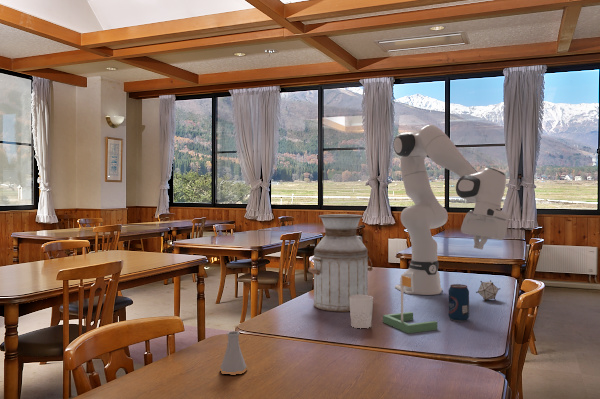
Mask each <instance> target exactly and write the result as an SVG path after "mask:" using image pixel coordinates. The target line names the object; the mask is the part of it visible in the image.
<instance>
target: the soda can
mask: <svg viewBox="0 0 600 399" xmlns="http://www.w3.org/2000/svg"><path fill="white" fill-rule="evenodd" d="M447 316H448V318H449V319H450V320H451V321H454V322H462V323H463V322H466V321H468V320H469V317H470V291H469V288H468V285H466V284H461V283H460V284H459V283H457V284H455V283H453V284H450V285H449V288H448V315H447Z"/></svg>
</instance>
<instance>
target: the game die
mask: <svg viewBox="0 0 600 399" xmlns="http://www.w3.org/2000/svg"><path fill="white" fill-rule="evenodd" d="M499 290H501V288H500V287H499V288H498V287H497V286H496V285H495V284H494V282H492V280H491V279H490V281H482V280H480V285H479V288H478V290H477V291H475V293H476V294H479V295H480V296H481V297H482V298H483V300H484V302H486V301H487V300H494V301H496V300H497V299H496V296H497V294H498V291H499Z"/></svg>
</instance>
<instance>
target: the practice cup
mask: <svg viewBox="0 0 600 399" xmlns="http://www.w3.org/2000/svg"><path fill="white" fill-rule="evenodd" d="M400 278H401V291H400V312H398V313H390V314H383V315H382V323H383V322H384V324H386V325H388V326H390V327H392V326H393V327H392V328H395V329H397V330H399V331H401V332H404V333H406V334H414V333H422V332H429V331H435V330H436V331H437V330H439V328H438V321H437V320H433V321H432V320H431V321H424V322H416V323H407V322H408V321H413V320H414V312H412V311H406V312H404V292H403V285H404V286H407V287H411V278H409V277H405V276H403V275H402V274H401V275H400ZM406 321H407V322H406Z"/></svg>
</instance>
